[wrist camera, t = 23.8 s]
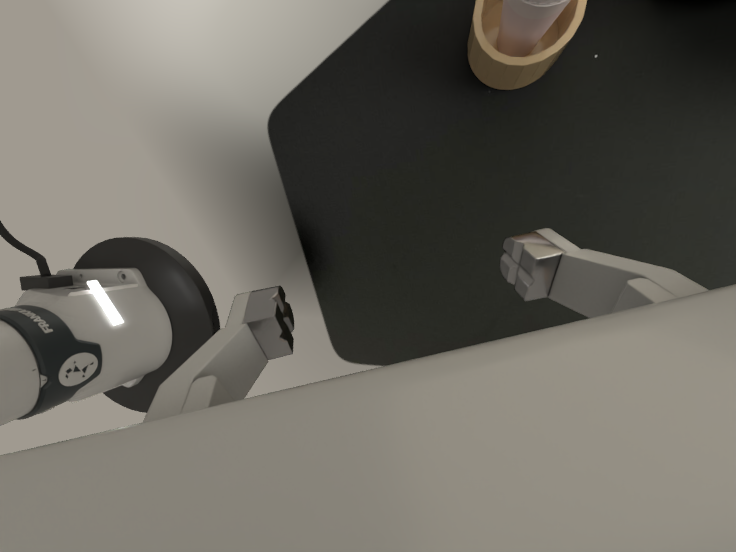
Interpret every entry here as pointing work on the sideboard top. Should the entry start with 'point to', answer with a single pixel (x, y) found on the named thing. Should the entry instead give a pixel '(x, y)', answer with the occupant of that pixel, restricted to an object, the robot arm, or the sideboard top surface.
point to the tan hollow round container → (516, 70)
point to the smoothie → (526, 24)
